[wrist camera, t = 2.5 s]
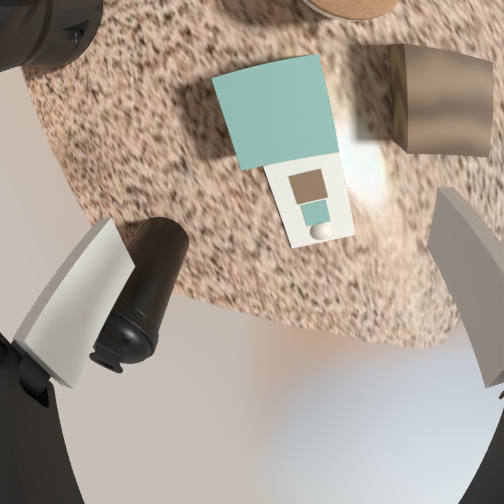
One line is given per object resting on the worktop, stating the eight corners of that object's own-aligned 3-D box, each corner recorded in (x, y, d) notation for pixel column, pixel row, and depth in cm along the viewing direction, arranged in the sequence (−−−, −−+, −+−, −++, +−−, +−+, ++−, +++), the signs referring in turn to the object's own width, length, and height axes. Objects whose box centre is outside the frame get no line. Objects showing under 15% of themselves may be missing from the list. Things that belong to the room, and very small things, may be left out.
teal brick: (222, 75, 30) (211, 78, 25) (312, 54, 27) (318, 54, 22) (247, 153, 36) (241, 170, 31) (330, 137, 33) (339, 152, 29)
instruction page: (263, 166, 37) (263, 166, 36) (337, 147, 34) (337, 148, 34) (291, 247, 45) (291, 248, 44) (354, 234, 42) (355, 235, 41)
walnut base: (388, 44, 24) (403, 44, 20) (471, 58, 22) (492, 62, 18) (393, 140, 32) (407, 153, 28) (470, 144, 30) (488, 157, 26)
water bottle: (131, 246, 48) (70, 354, 30) (145, 201, 42) (67, 317, 24) (182, 270, 50) (139, 387, 32) (203, 230, 44) (154, 361, 26)
